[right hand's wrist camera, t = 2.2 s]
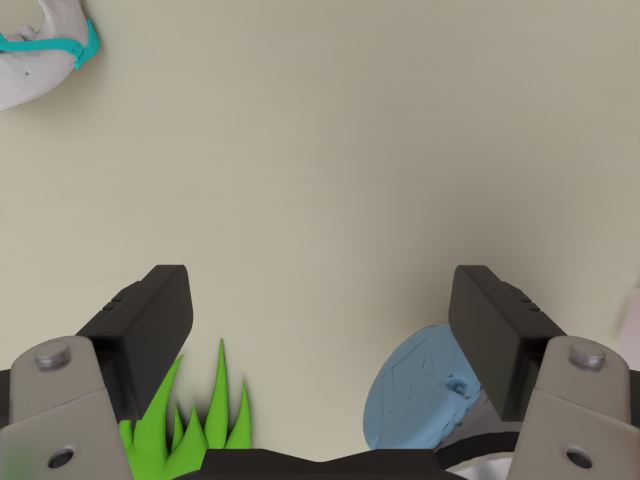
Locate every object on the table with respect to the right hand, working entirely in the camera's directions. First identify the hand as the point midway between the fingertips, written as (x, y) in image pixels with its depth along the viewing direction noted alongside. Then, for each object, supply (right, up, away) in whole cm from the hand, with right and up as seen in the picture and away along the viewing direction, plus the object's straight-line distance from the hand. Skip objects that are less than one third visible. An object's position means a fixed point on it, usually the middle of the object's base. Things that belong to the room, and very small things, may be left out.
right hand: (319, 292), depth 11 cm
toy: (-17, -24, +41) cm, 50 cm away
